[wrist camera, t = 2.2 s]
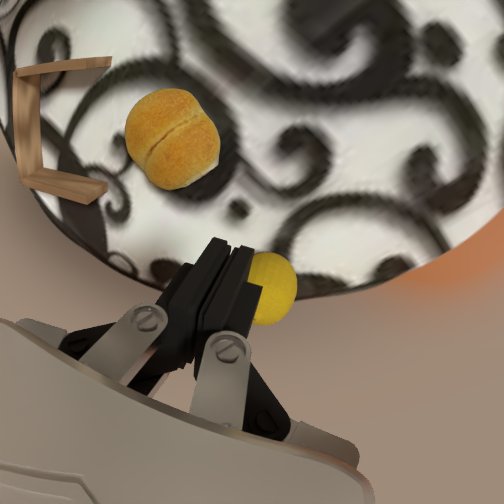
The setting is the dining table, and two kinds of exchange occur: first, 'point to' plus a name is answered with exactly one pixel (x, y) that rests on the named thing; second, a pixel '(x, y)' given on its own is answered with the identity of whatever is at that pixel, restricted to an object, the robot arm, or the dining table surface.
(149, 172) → the bread roll
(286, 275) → the lemon
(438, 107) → the dining table surface
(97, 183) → the bay
